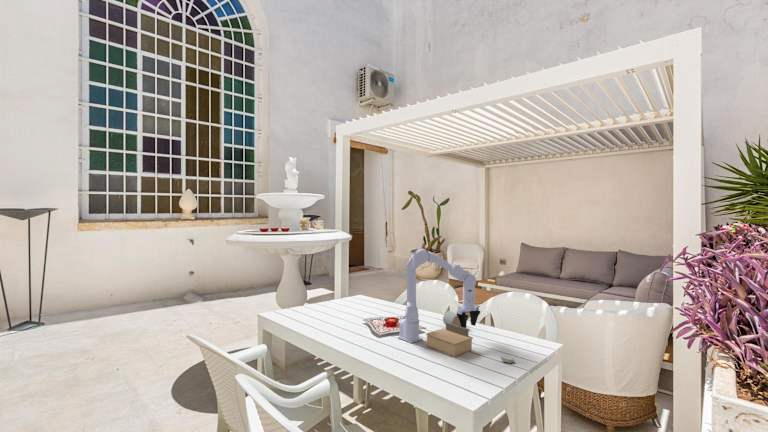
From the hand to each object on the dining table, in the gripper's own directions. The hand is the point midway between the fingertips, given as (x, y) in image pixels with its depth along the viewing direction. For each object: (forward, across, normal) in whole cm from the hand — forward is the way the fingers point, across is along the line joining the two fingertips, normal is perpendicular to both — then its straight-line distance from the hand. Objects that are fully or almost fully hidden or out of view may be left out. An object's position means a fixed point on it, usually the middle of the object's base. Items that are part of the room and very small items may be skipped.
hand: (468, 326), depth 172 cm
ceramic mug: (+7, +13, +19) cm, 24 cm away
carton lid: (+2, -14, 0) cm, 14 cm away
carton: (+7, -14, 0) cm, 16 cm away
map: (+8, 0, -20) cm, 21 cm away
